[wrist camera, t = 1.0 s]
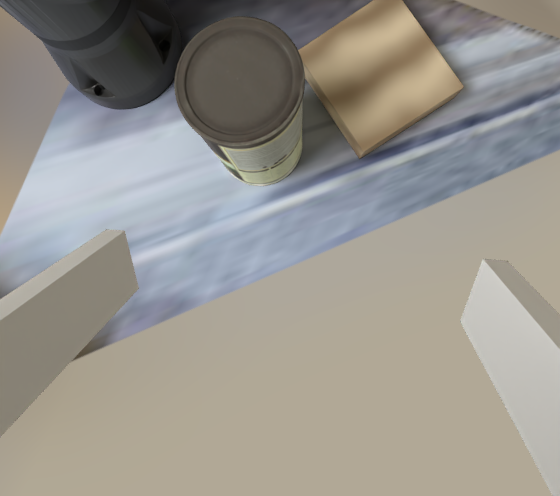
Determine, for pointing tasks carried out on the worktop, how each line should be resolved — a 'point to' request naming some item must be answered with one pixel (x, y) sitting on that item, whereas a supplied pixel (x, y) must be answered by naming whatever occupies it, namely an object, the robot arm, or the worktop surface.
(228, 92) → the coffee can
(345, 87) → the chopping board
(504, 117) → the worktop surface
